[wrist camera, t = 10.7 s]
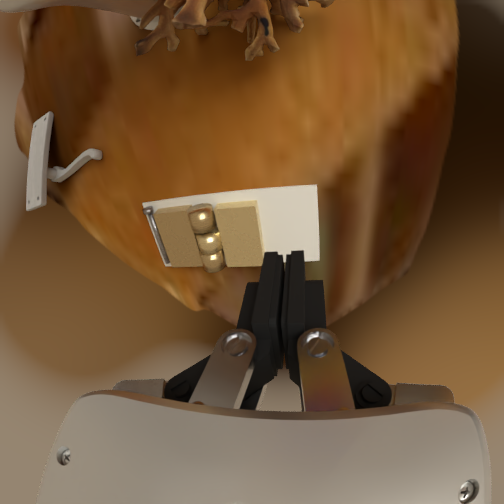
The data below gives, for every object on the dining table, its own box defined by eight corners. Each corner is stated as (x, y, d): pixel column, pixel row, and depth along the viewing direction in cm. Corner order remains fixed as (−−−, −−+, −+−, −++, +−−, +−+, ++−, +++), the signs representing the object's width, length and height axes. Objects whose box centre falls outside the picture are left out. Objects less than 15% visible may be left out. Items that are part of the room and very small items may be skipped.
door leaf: (194, 205, 48) (185, 217, 44) (257, 200, 46) (253, 211, 42) (209, 260, 54) (202, 274, 51) (265, 258, 52) (263, 272, 49)
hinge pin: (145, 206, 49) (140, 211, 48) (154, 205, 49) (149, 210, 47) (165, 260, 56) (161, 266, 55) (173, 260, 56) (169, 266, 54)
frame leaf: (158, 208, 49) (148, 219, 46) (214, 201, 47) (207, 213, 43) (176, 260, 56) (168, 273, 52) (228, 258, 53) (223, 272, 50)
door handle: (58, 129, 47) (53, 211, 49) (33, 123, 40) (26, 210, 41) (107, 102, 43) (103, 196, 44) (81, 89, 35) (71, 193, 37)
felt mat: (143, 202, 49) (142, 203, 49) (316, 184, 43) (316, 185, 42) (166, 265, 58) (165, 266, 57) (319, 259, 51) (319, 260, 51)
